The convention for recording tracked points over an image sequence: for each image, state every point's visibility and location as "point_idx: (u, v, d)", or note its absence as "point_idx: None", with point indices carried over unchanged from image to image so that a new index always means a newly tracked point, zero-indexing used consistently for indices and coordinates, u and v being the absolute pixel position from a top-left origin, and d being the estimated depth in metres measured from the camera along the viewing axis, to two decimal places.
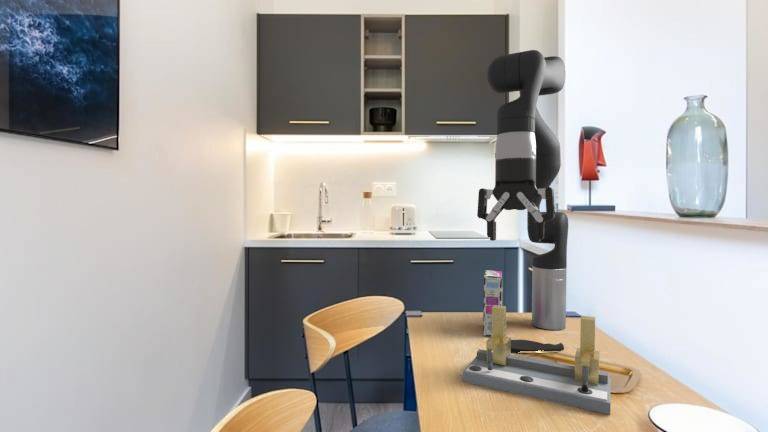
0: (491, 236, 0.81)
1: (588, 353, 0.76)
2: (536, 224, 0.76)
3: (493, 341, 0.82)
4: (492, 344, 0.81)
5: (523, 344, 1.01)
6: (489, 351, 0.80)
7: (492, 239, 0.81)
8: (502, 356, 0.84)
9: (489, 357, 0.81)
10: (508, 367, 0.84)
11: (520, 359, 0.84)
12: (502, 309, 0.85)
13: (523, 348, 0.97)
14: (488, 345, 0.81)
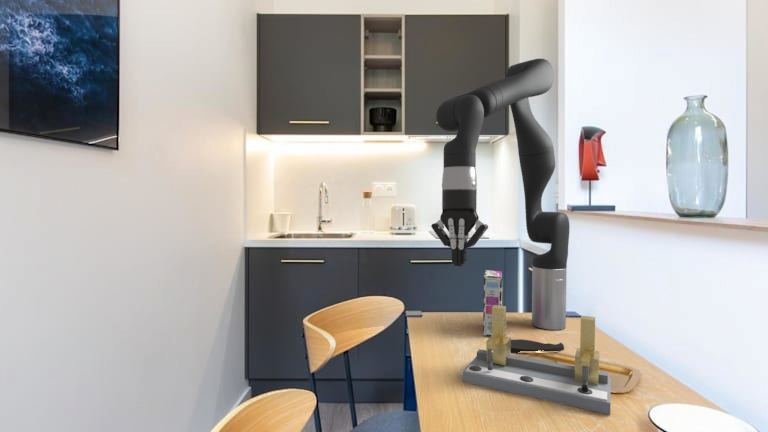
0: (455, 262, 0.90)
1: (588, 353, 0.76)
2: (458, 251, 0.90)
3: (493, 341, 0.82)
4: (492, 344, 0.81)
5: (523, 344, 1.01)
6: (489, 351, 0.80)
7: (456, 265, 0.90)
8: (502, 356, 0.84)
9: (489, 357, 0.81)
10: (508, 367, 0.84)
11: (520, 359, 0.84)
12: (502, 309, 0.85)
13: (523, 348, 0.97)
14: (488, 345, 0.81)
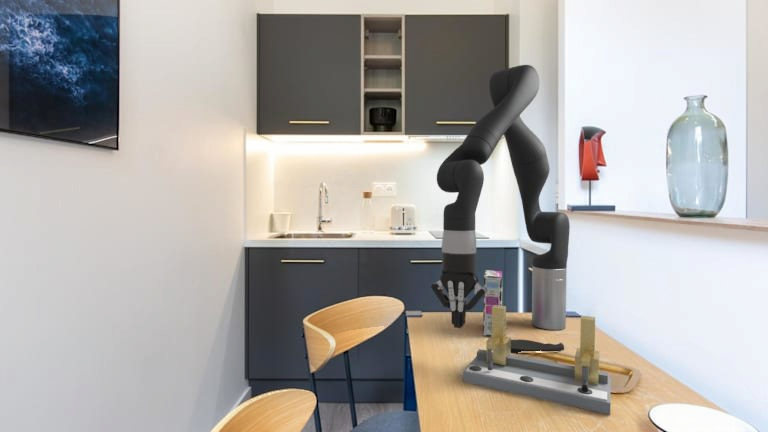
0: (455, 324, 0.90)
1: (588, 353, 0.76)
2: (457, 313, 0.90)
3: (493, 341, 0.82)
4: (492, 344, 0.81)
5: (523, 344, 1.01)
6: (489, 351, 0.80)
7: (456, 327, 0.90)
8: (502, 356, 0.84)
9: (489, 357, 0.81)
10: (508, 367, 0.84)
11: (520, 359, 0.84)
12: (502, 309, 0.85)
13: (523, 348, 0.97)
14: (488, 345, 0.81)
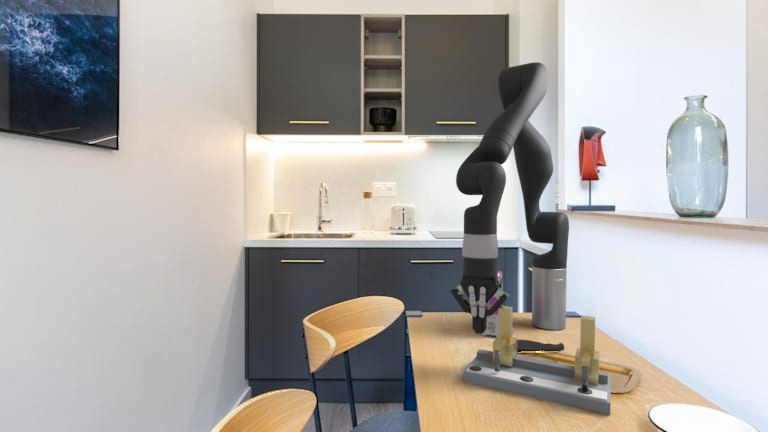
0: (476, 330, 0.88)
1: (588, 353, 0.76)
2: (479, 319, 0.88)
3: (500, 342, 0.82)
4: (499, 345, 0.80)
5: (523, 344, 1.01)
6: (496, 352, 0.80)
7: (477, 332, 0.88)
8: (509, 358, 0.83)
9: (496, 358, 0.80)
10: (508, 367, 0.84)
11: (520, 359, 0.84)
12: (509, 310, 0.85)
13: (524, 348, 0.97)
14: (495, 346, 0.80)
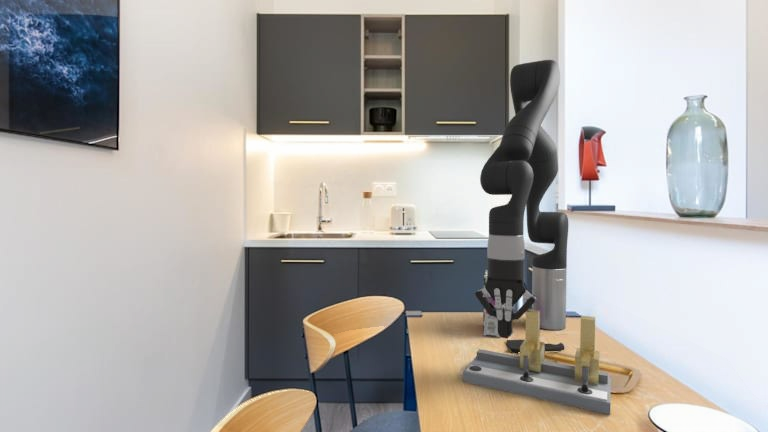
0: (501, 334, 0.86)
1: (588, 353, 0.76)
2: (505, 322, 0.85)
3: (528, 347, 0.79)
4: (528, 350, 0.78)
5: None
6: (525, 358, 0.77)
7: (502, 336, 0.86)
8: (537, 363, 0.81)
9: (525, 364, 0.77)
10: (508, 367, 0.84)
11: None
12: (536, 313, 0.82)
13: None
14: (524, 351, 0.78)
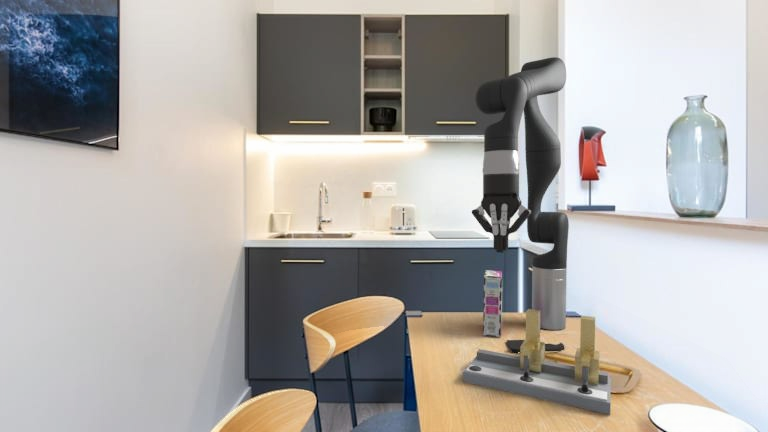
0: (497, 248, 0.88)
1: (588, 353, 0.76)
2: (500, 237, 0.88)
3: (529, 347, 0.79)
4: (528, 350, 0.78)
5: None
6: (525, 358, 0.77)
7: (498, 251, 0.88)
8: (538, 363, 0.81)
9: (525, 364, 0.77)
10: (508, 367, 0.84)
11: None
12: (537, 313, 0.82)
13: None
14: (524, 351, 0.78)
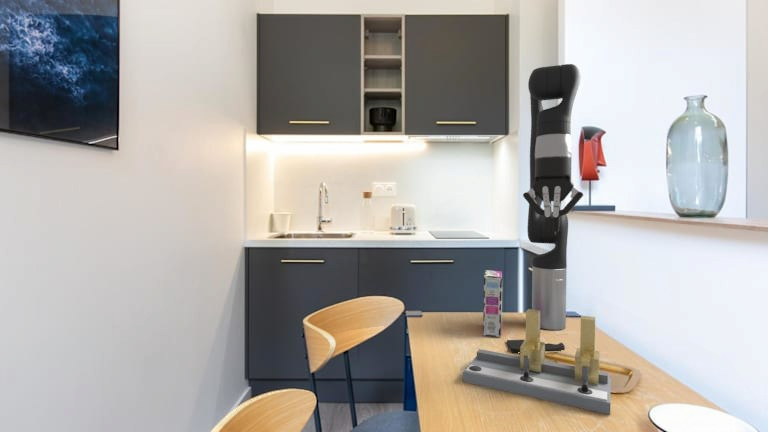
0: (549, 230, 0.91)
1: (588, 353, 0.76)
2: (552, 219, 0.90)
3: (529, 347, 0.79)
4: (528, 350, 0.78)
5: None
6: (525, 358, 0.77)
7: (550, 233, 0.91)
8: (538, 363, 0.81)
9: (525, 364, 0.77)
10: (508, 367, 0.84)
11: None
12: (537, 313, 0.82)
13: None
14: (524, 351, 0.78)
